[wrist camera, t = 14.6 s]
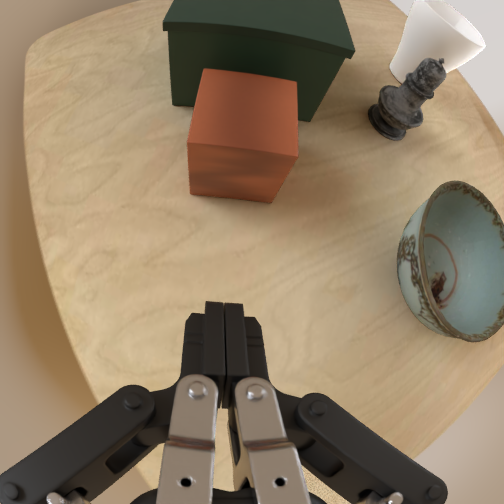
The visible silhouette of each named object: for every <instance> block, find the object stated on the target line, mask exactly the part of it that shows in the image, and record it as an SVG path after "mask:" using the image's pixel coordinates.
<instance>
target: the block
mask: <svg viewBox="0 0 504 504" xmlns="http://www.w3.org/2000/svg"><path fill="white" fill-rule="evenodd" d="M187 153H188V171H189V186H190V194H196V195H206V196H215V197H225V198H234V199H242V200H251V201H259V202H267V203H272V201H273V199H274V198H275V196H276V194H277V192H278V191H279V189H280V187H281V186H282V184H283V182H284V180H285V179H286V177H287V175H288V174H289V172H290V170H291V168H292V167H293V165H294V163H295V162H296V160H297V158H298V101H297V82H295V81H290V80H285V79H280V78H274V77H268V76H262V75H256V74H249V73H242V72H234V71H226V70H216V69H203V73H202V77H201V81H200V85H199V90H198V94H197V98H196V102H195V107H194V111H193V116H192V120H191V125H190V130H189V135H188V140H187Z"/></svg>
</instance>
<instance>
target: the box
mask: <svg viewBox="0 0 504 504" xmlns="http://www.w3.org/2000/svg"><path fill="white" fill-rule="evenodd" d="M163 31H168V45H169V64H170V79H171V93H172V105H181V106H195V102H196V98H197V94H198V90H199V85H200V81H201V77H202V73H203V69H216V70H226V71H234V72H242V73H249V74H256V75H262V76H268V77H274V78H280V79H285V80H290V81H295V82H297V101H298V120H303V121H308V122H310V121H311V119H312V117H313V116H314V114H315V112H316V110H317V108H318V107H319V105H320V103H321V101H322V99H323V98H324V96H325V94H326V92H327V90H328V88H329V87H330V85H331V83H332V81H333V80H334V78H335V76H336V74H337V72H338V71H339V69H340V67H341V65H342V63H343V62H344V60H345V58H349V59H351V58H352V56H353V54H354V53H355V48H354V45H353V42H352V38H351V35H350V32H349V29H348V26H347V23H346V19H345V17H344V14H343V11H342V8H341V5H340V2H339V0H174V1H173V3H172V5H171V7H170V8H169V10H168V12H167V14H166V16H165V18H164V20H163Z"/></svg>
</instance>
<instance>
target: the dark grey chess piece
mask: <svg viewBox="0 0 504 504" xmlns="http://www.w3.org/2000/svg"><path fill="white" fill-rule="evenodd" d="M442 63H443V64H444V58H441V59H440V58H439V61H437V60H435V59H432V58H425V59H424V60H422V62H421V63H420V64H419V65H418V67H417V68H416V69H415V70H414V71H413V73H407V74H406V80H405V81H404V82H403V84H402V85H401V86H400V87H399V88H398V87H396V86H391V85H388V86H384V87H383V88H382V89H381V90H380V96H379V100H378V104H375V105H373V106H371V107H370V109H369V113H368V115H369V119H370V121H371V123H372V125H373V126H374V128H375V129H376V130H377V131H378V132H379V133H380V134H382V135H383V136H385V137H386V138H388V139H391V140H401V139H402V138H403V137H404V136H405V134H406V130H407V129H411V128H413V127H418V126H420V125H421V124H422V122H423V113H422V110H421V108H420V107H421V105H422V104H423V103H424V102H425V101H426V100H427V99H432V98H433V96H434V92H433V91H434V90H435V89H436V88H437V87H438V86H439V85H440V84H441V83H442V82H443V81H444V80H445V78H446V71H445V69H444V67H443V65H442Z"/></svg>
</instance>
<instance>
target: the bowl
mask: <svg viewBox="0 0 504 504" xmlns="http://www.w3.org/2000/svg"><path fill="white" fill-rule="evenodd" d="M397 273H398V279H399V284H400V287H401V291H402V294H403V296H404V298H405V301H406V303H407V305H408V306H409V308H410V309H411V311H412V312H413V314H414V315H415V316H416V317H417V318H418V319H419V321H420V322H421V323H423V324H424V325H425V326H426V327H428V328H429V329H431V330H432V331H434V332H436V333H438V334H441V335H444V336H447V337H452V338H459V339H462V340H465V341H468V342H480V341H484V340H486V339H488V338H490V337H491V336H492V335H494V334H495V333H496V332H497V331H498V330H499V329H500V328H501V327H502V325H503V324H504V224H503V222H502V220H501V217H500V215H499V214H498V212H497V211H496V209H495V208H494V206H493V205H492V203H491V202H490V201H489V200H488V199H487V198H486V197H485V196H484V194H483V193H481V192H480V191H479V190H477V189H476V188H475V187H473V186H471V185H469V184H467V183H465V182H461V181H450V182H446V183H444V184H442V185H440V186H439V187H438V188H437V189H436V190H435V191H434V192H433V194H432V195H431V197H430V198H429V199H428V200H427V201H425V202H424V203H423V204H422V205H421V206H420V207H419V208H418V209H417V211H416V212H415V213H414V214H413V215H412V217H411V218H410V220H409V221H408V223H407V225H406V227H405V228H404V231H403V234H402V237H401V240H400V243H399V248H398V254H397Z"/></svg>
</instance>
